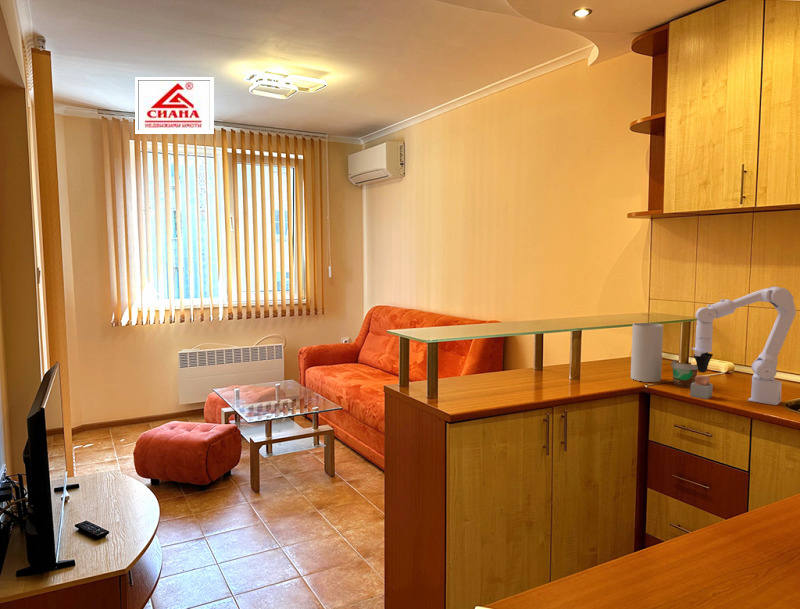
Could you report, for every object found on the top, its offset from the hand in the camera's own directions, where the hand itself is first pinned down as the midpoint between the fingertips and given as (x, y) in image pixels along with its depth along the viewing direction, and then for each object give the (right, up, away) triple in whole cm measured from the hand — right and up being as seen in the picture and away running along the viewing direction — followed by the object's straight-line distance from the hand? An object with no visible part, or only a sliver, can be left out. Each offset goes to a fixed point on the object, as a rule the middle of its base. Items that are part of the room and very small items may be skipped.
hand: (702, 371), depth 219 cm
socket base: (0, -10, +1) cm, 10 cm away
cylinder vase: (-9, -7, +30) cm, 32 cm away
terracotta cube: (0, -6, 0) cm, 6 cm away
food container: (+1, -8, +19) cm, 21 cm away
